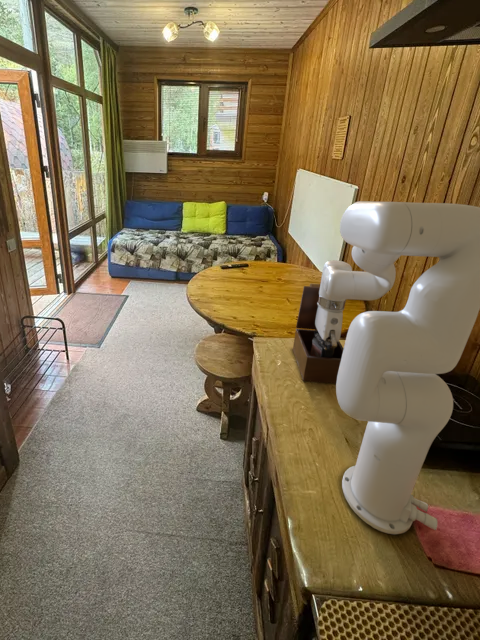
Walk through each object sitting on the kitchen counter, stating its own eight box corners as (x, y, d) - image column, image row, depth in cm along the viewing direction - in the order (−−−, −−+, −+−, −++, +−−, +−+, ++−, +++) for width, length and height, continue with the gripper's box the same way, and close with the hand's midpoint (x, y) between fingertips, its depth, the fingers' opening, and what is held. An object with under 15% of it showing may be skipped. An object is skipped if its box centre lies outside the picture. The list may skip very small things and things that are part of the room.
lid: (345, 289, 97) (339, 281, 102) (304, 287, 99) (300, 278, 103) (334, 331, 104) (329, 321, 109) (296, 328, 106) (293, 318, 110)
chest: (345, 385, 93) (351, 361, 90) (302, 381, 94) (307, 357, 91) (329, 352, 108) (333, 331, 105) (292, 349, 109) (296, 328, 106)
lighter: (332, 371, 96) (338, 344, 93) (323, 374, 95) (329, 346, 92) (314, 356, 103) (319, 330, 100) (306, 358, 102) (311, 332, 99)
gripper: (355, 317, 83) (343, 370, 89) (334, 290, 100) (325, 336, 105) (327, 315, 84) (317, 368, 90) (310, 288, 100) (303, 334, 106)
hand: (321, 350), depth 97 cm, fingers closed on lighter, 7 cm apart
